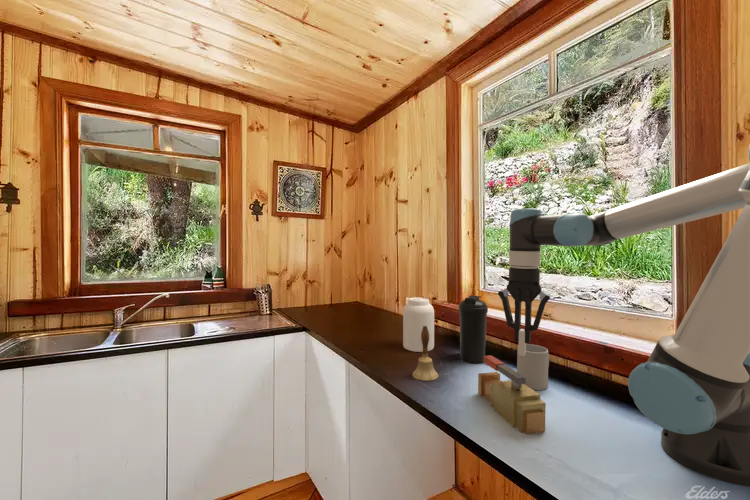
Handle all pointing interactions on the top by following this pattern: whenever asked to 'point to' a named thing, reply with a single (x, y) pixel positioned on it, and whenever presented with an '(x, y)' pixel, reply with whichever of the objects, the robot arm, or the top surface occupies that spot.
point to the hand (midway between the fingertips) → (522, 354)
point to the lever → (506, 372)
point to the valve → (513, 403)
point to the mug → (534, 366)
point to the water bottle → (473, 329)
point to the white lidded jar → (417, 323)
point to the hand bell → (425, 361)
